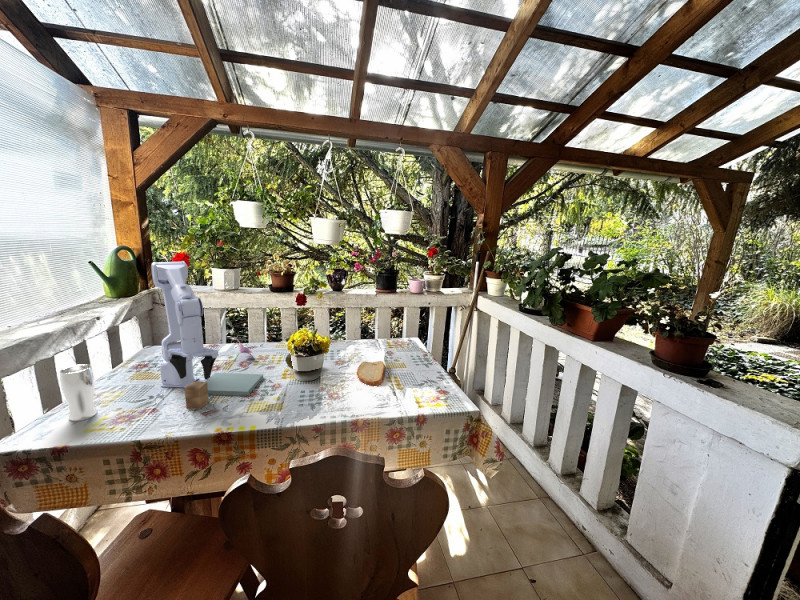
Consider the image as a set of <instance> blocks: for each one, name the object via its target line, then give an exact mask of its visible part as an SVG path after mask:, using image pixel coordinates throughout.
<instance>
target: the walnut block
mask: <svg viewBox="0 0 800 600" xmlns="http://www.w3.org/2000/svg"><path fill="white" fill-rule="evenodd" d="M184 394H185V395H184V396H185V405H186V409H191V410H192V409H193V410H195V409H196V410H198V409H199V410H201V409H203V408H204V407H205V406H206V405H207V404H208V403H209V394H208V387H207V382H205V381H195V382H192V383H191V384H189V385H188V386H187V387H184Z"/></svg>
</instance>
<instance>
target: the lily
mask: <svg viewBox="0 0 800 600" xmlns="http://www.w3.org/2000/svg"><path fill="white" fill-rule="evenodd" d="M233 337H234V339H236V337H235V336H233ZM236 341H238V343H239V344H238V346H239V351H238V352H239V353H238V354H237V355H236V357H235V360H234V362H236V361H237V359H238V356H239V355H240V354H248V355H249V356H251V357H252V358H253V359H254V358H255V357H254V355H252V354H253V352H252V350H250V348H249V346H248V345H246V346H244V345H243V344H242V343H241V341H240V340H239V339H236Z"/></svg>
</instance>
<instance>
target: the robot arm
mask: <svg viewBox="0 0 800 600" xmlns="http://www.w3.org/2000/svg"><path fill="white" fill-rule="evenodd" d="M150 268H151V276H152V282H153V285H154V287H156V288H159V289H160V290H161V292H162V294H163V300H164V306H165V307H164V308H165V313H166V318H167V324H168V325H167V326H168V333H169V334H167V336H165V337H163V339H162V340H161V355H162V358H163V361H162V362H161V365H160V368H159V369H160V380H161V381H160V382H161V384H160V388H166V387H167V388H185V387H187V386H188V385H189V384H191V383H192V382H197V380H199V379H200V376H194V375H195V374H194V364H193V360H194V357H196V358H197V357H199V358H202V359H201V360H200V363H201V366H202V371H203V378H204V381H206V380H207V379H209V378H210V377H211V376H212V375H211V374H212V370H213V367H214V364H215V362H216V360H217V358H218V357H219V350H218V349H212V348H211V349H210V348H205V347H204V337H203V327H202V326H203V325H202V317H203V314H204V307H203V306H204V305H203V301H202V299H201V297H200V296H196V294H195V292H194V290H193V288H192V286H190V285H189V284H186V282H187V279H188V275H189V269H188V265H187V263H186V262H185V261H184V260H181V261H164V262H162V261H161V262H160V261H159V262H156V261H153V262H152V263H151V265H150Z"/></svg>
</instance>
